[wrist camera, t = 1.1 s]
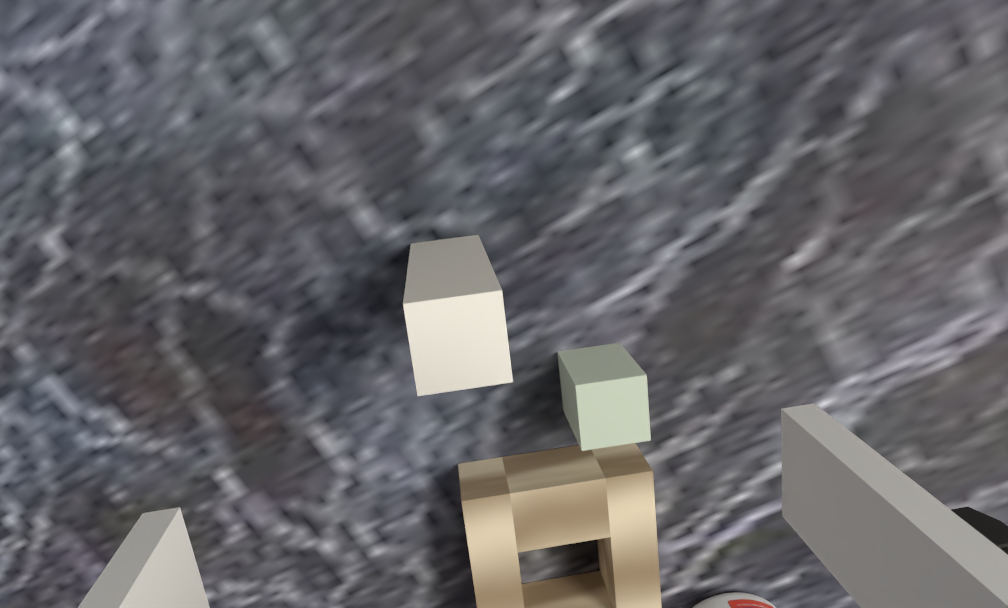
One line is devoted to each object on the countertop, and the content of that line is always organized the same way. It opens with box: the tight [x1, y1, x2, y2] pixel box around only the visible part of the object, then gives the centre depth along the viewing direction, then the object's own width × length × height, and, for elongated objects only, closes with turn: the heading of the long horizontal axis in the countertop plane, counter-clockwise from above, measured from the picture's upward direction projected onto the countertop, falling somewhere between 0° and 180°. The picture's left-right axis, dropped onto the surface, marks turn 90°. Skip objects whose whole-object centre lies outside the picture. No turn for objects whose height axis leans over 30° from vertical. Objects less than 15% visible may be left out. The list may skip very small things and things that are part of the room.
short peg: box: [557, 343, 651, 451], centre depth 37 cm, size 4×4×5 cm
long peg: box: [403, 235, 513, 396], centre depth 31 cm, size 4×4×12 cm
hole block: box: [458, 443, 661, 608], centre depth 40 cm, size 12×10×4 cm
